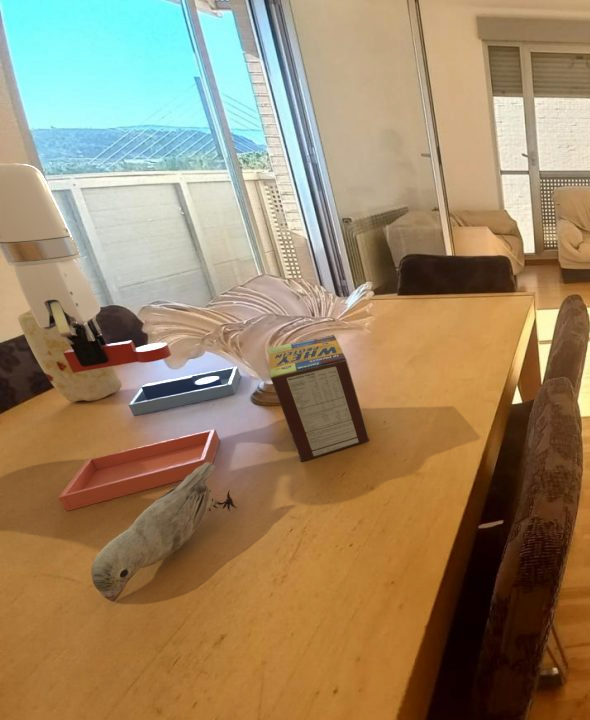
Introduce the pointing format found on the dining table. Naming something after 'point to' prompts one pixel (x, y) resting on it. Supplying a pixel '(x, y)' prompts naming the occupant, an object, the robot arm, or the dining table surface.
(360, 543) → the dining table surface
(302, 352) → the protein box
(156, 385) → the blue spoon
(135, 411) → the blue tray
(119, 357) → the red spoon
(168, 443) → the red tray
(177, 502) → the decorative bird
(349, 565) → the dining table surface
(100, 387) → the food model
